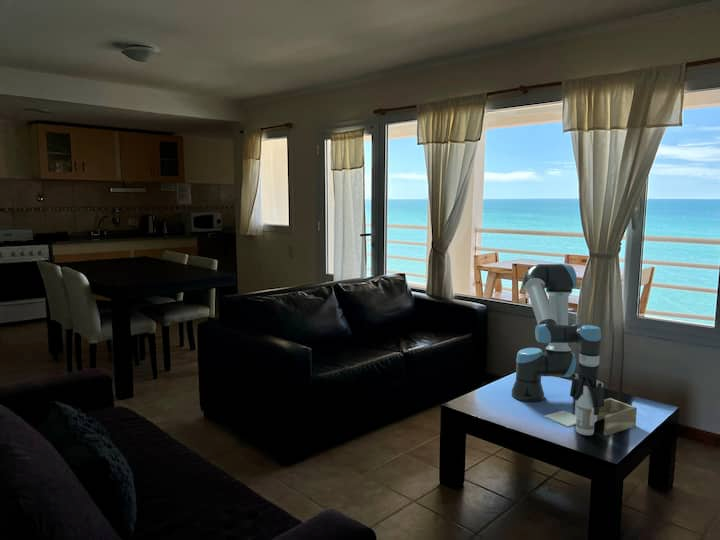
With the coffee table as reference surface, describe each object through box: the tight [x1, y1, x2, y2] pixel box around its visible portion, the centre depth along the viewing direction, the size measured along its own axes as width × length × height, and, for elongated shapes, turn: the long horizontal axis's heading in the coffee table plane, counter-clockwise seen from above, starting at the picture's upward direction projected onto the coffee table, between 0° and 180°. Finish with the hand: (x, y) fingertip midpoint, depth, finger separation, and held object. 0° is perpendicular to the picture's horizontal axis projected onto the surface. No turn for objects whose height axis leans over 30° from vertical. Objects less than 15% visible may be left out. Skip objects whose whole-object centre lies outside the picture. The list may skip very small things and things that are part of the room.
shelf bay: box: [596, 397, 638, 436], centre depth 217 cm, size 12×19×8 cm, turn 119°
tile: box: [544, 409, 576, 428], centre depth 224 cm, size 12×12×1 cm
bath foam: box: [575, 385, 596, 436], centre depth 209 cm, size 7×7×20 cm
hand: (585, 418), depth 210 cm, fingers closed on bath foam, 7 cm apart
